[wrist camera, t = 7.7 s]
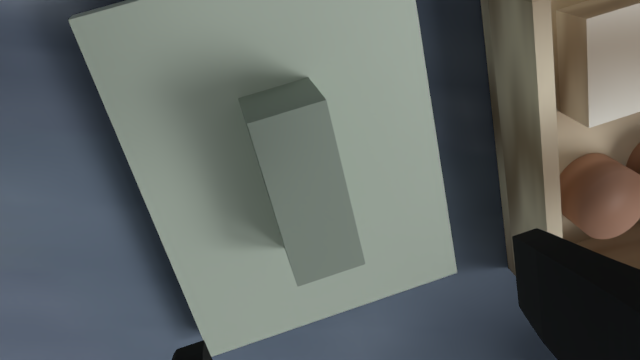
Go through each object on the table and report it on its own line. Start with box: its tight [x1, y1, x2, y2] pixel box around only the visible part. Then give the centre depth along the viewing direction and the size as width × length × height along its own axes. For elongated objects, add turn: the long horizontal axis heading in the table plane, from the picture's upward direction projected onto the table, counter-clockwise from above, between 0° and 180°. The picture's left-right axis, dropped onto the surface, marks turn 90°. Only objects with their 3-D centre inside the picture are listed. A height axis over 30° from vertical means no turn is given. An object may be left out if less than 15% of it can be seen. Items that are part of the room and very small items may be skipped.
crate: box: [480, 0, 640, 276], centre depth 23 cm, size 13×10×4 cm
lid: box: [68, 0, 457, 357], centre depth 21 cm, size 13×10×4 cm
